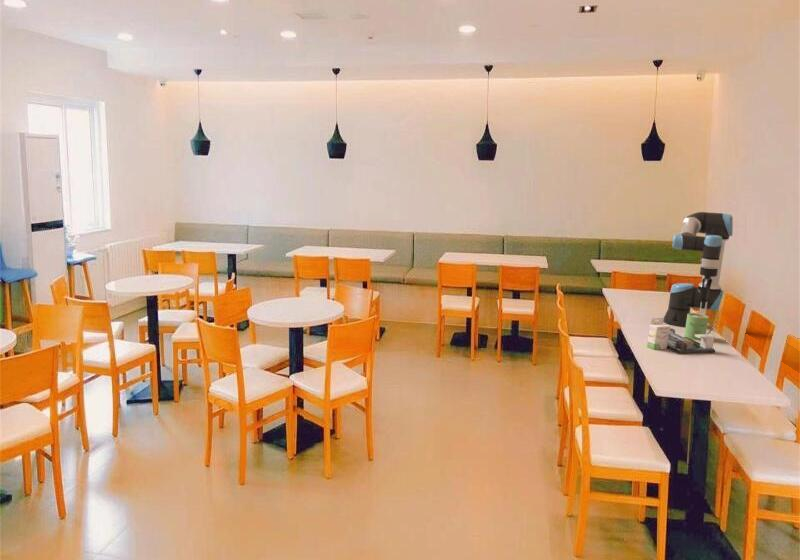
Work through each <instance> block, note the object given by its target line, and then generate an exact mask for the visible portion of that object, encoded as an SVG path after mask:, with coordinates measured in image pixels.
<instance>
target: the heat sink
mask: <svg viewBox="0 0 800 560" xmlns="http://www.w3.org/2000/svg"><path fill="white" fill-rule="evenodd" d="M668 343H670V344H672V345H674V346H684V344H685V342H683V341H681V340H679V339H677V338H675V337H668Z"/></svg>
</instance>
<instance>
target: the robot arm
mask: <svg viewBox="0 0 800 560" xmlns="http://www.w3.org/2000/svg"><path fill="white" fill-rule="evenodd" d="M733 224H734V222H733V215H731V214H728V213H721V212H705V211H698V212H695V213H692V214H689V215H687V216H686V217H685V218H684V219H683V220H682V222H681V230H680V233H675V234H673V238H672V244H671V245H672V247H671V248H672V249H675V250H679V251H681V250H683V251H693V252H702V256H701V259H700V260H699V261H700V262H701V264H700V268H699V269H700V270H699V275H700V276H702V278H701V282H700V283H698V286H695V284H694V283H690V282H677V283H674V284H672V285H671V288H670V292H669V293H670V295H669V300H668V301H669V302H668V308H667V311H666V312H665V315H664V316H663V318H664V320H663V323H664V324H666V325H672V326H677V327H686V321H687V314H688V313H691V309H692V308H694V309H699V312H698V314H699V315H706V313H707V311H717V310H719V308H720V305H721V303H722V302H721V301H722V298H723V295H724V290H722V286H721V285H720V284H719V283H720V278H721V271H722V265H723V259H724V251H725V245H726V242H727V241H728V240H729V239H730V237H732V236H733V226H734V225H733ZM697 234H704V235H705V236H700V235H697ZM706 316H707V315H706Z"/></svg>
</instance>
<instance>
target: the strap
mask: <svg viewBox="0 0 800 560" xmlns="http://www.w3.org/2000/svg"><path fill="white" fill-rule="evenodd" d="M669 335H671V336H673V337H675V338H677V339H679V340H681V341H683V342H685V343H688V344H694V342H693V341H690V340H688V339H686V338H684V337H685V336H682V335H679V334H677V333H676V332H675V333H673V332H671V331H669Z"/></svg>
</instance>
